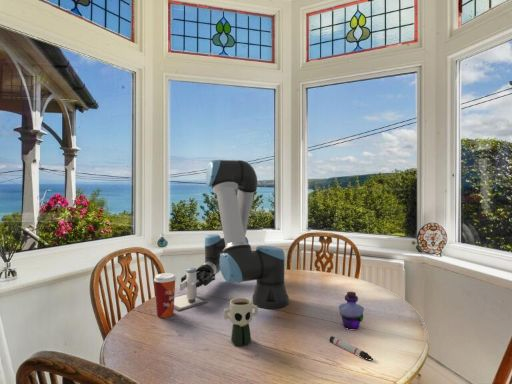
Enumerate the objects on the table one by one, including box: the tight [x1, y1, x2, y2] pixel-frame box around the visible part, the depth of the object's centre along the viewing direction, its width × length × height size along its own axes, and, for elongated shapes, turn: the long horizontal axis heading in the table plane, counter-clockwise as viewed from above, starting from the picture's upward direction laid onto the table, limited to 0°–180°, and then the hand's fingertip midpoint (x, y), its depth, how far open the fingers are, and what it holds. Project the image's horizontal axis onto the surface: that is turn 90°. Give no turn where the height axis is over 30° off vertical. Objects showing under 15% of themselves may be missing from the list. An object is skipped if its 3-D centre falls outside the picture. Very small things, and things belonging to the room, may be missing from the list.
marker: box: [328, 335, 374, 361], centre depth 100 cm, size 15×2×2 cm, turn 36°
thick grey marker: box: [185, 267, 198, 303], centre depth 140 cm, size 4×4×14 cm
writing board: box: [174, 293, 209, 312], centre depth 141 cm, size 14×14×1 cm
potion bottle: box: [338, 291, 365, 330], centre depth 117 cm, size 9×9×12 cm
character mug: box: [223, 297, 259, 346], centre depth 106 cm, size 11×7×13 cm, turn 106°
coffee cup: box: [153, 272, 177, 319], centre depth 128 cm, size 8×8×15 cm
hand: (186, 287), depth 134 cm, fingers closed on thick grey marker, 4 cm apart
